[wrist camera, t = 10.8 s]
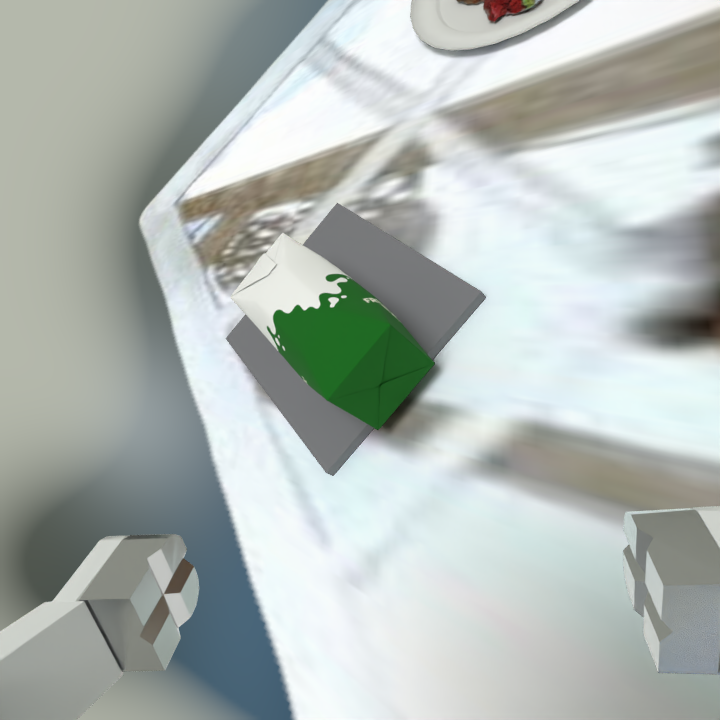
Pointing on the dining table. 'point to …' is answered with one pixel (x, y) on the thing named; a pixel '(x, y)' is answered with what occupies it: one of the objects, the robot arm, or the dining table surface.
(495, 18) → the plated food
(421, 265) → the mat
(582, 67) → the dining table surface
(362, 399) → the soya milk
